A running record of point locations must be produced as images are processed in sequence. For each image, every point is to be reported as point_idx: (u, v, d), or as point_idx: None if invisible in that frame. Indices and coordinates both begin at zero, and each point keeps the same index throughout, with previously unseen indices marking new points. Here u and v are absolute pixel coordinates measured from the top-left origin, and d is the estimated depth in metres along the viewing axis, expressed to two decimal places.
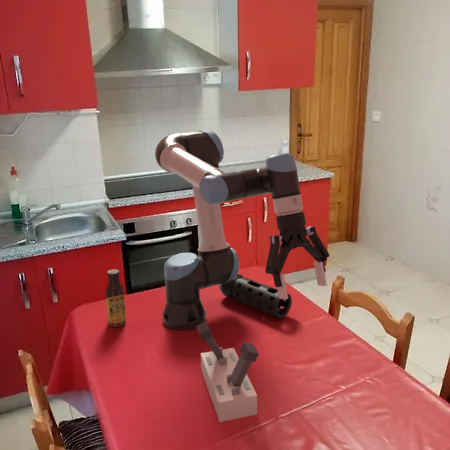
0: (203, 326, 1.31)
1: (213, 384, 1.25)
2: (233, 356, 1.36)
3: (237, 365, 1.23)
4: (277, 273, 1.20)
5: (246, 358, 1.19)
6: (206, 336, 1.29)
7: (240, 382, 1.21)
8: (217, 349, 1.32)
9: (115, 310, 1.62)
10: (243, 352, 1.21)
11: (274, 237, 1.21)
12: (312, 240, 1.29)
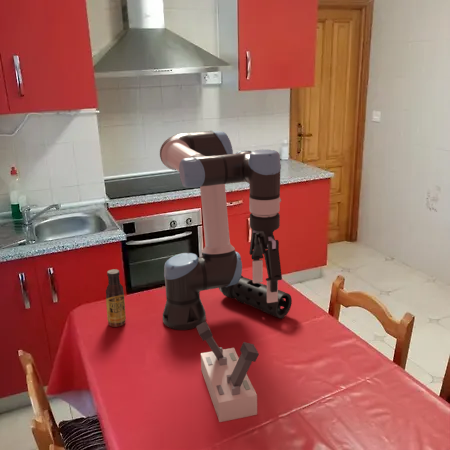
0: (203, 326, 1.31)
1: (213, 384, 1.25)
2: (233, 356, 1.36)
3: (237, 365, 1.23)
4: None
5: (246, 358, 1.19)
6: (206, 336, 1.29)
7: (240, 382, 1.21)
8: (217, 349, 1.32)
9: (115, 310, 1.62)
10: (243, 352, 1.21)
11: (276, 242, 1.15)
12: (255, 238, 1.28)
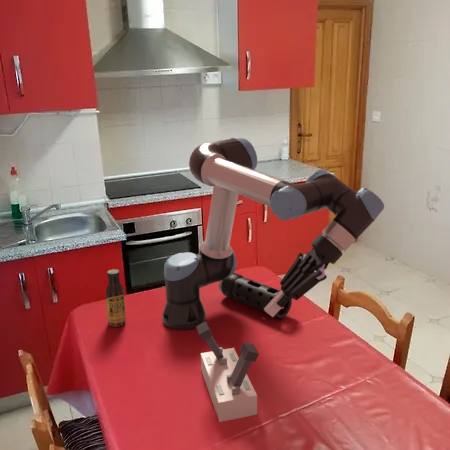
0: (203, 326, 1.31)
1: (213, 384, 1.25)
2: (233, 356, 1.36)
3: (237, 365, 1.23)
4: None
5: (246, 358, 1.19)
6: (206, 336, 1.29)
7: (240, 382, 1.21)
8: (217, 349, 1.32)
9: (115, 310, 1.62)
10: (243, 352, 1.21)
11: (323, 277, 1.12)
12: (297, 266, 1.21)
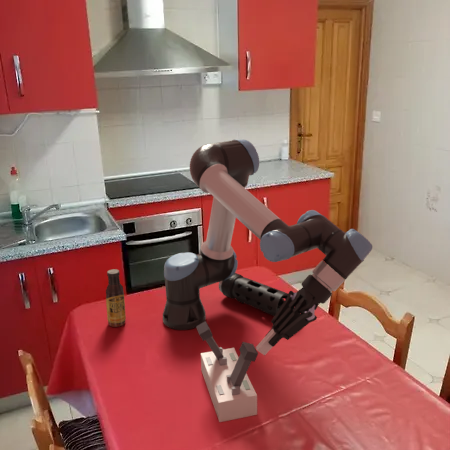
0: (203, 326, 1.31)
1: (213, 384, 1.25)
2: (233, 356, 1.36)
3: (237, 365, 1.23)
4: None
5: (245, 358, 1.19)
6: (206, 336, 1.29)
7: (240, 382, 1.21)
8: (217, 349, 1.32)
9: (115, 310, 1.62)
10: (242, 352, 1.21)
11: (314, 319, 1.15)
12: (288, 305, 1.24)
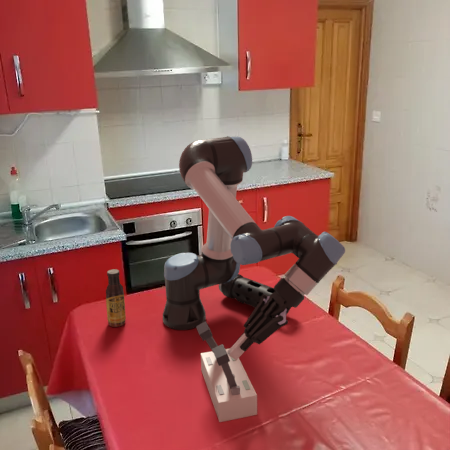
0: (203, 326, 1.31)
1: (213, 384, 1.25)
2: None
3: None
4: None
5: (219, 364, 1.17)
6: (206, 336, 1.29)
7: (233, 382, 1.21)
8: None
9: (115, 310, 1.62)
10: None
11: (285, 323, 1.13)
12: (260, 308, 1.22)
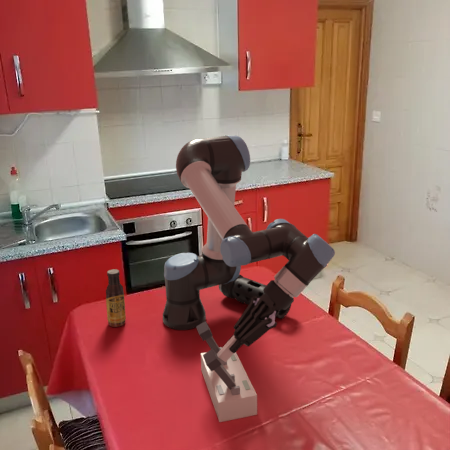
0: (203, 326, 1.31)
1: (213, 384, 1.25)
2: (233, 356, 1.36)
3: None
4: None
5: (212, 369, 1.17)
6: (206, 336, 1.29)
7: (231, 383, 1.21)
8: (217, 349, 1.32)
9: (115, 310, 1.62)
10: None
11: (273, 325, 1.13)
12: (250, 310, 1.22)
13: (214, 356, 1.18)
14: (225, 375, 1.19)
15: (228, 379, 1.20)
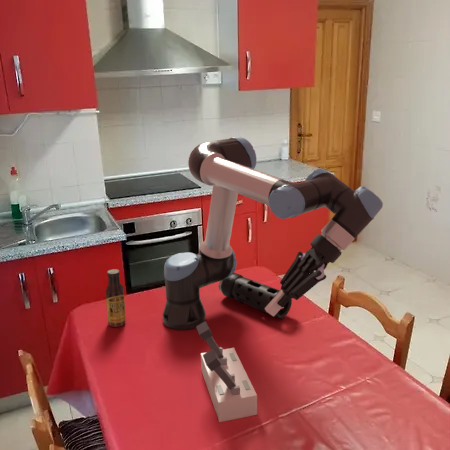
0: (203, 326, 1.31)
1: (213, 384, 1.25)
2: (233, 356, 1.36)
3: None
4: (291, 297, 1.19)
5: (211, 369, 1.17)
6: (206, 336, 1.29)
7: (231, 383, 1.21)
8: (217, 349, 1.32)
9: (115, 310, 1.62)
10: None
11: (323, 278, 1.13)
12: (297, 265, 1.22)
13: (214, 356, 1.18)
14: (225, 375, 1.19)
15: (228, 379, 1.20)
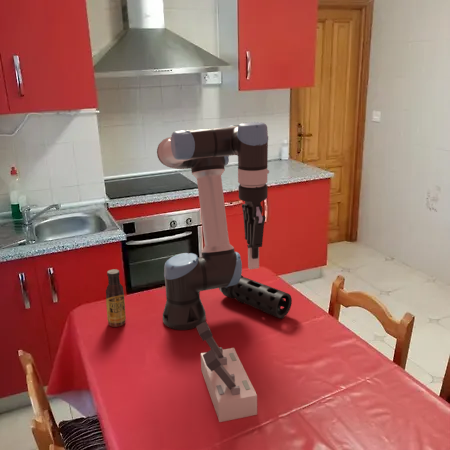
0: (203, 326, 1.31)
1: (213, 384, 1.25)
2: (233, 356, 1.36)
3: None
4: None
5: (211, 369, 1.17)
6: (206, 336, 1.29)
7: (231, 383, 1.21)
8: (217, 349, 1.32)
9: (115, 310, 1.62)
10: None
11: (263, 219, 1.20)
12: None
13: (214, 356, 1.18)
14: (225, 375, 1.19)
15: (228, 379, 1.20)
